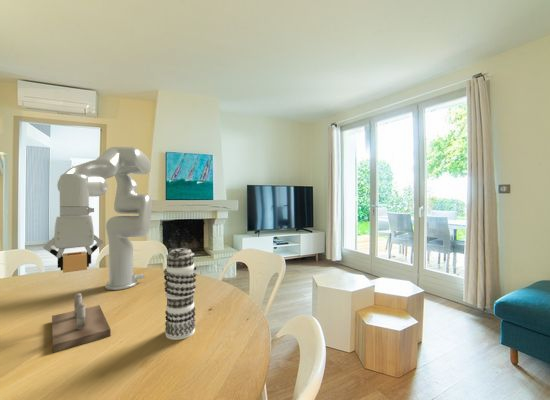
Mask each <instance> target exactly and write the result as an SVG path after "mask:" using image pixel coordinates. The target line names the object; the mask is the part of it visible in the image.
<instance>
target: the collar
mask: <svg viewBox="0 0 550 400" xmlns="http://www.w3.org/2000/svg"><path fill="white" fill-rule="evenodd" d="M86 252H87V250H86V251H84V250H82V251H75V252H73V251H72V252H63V254H62V255H63V270H62V273H63V274H65V273H72V272H79V271H80V272H81V271H87V270H88V267H87V253H86Z"/></svg>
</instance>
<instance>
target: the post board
mask: <svg viewBox="0 0 550 400" xmlns="http://www.w3.org/2000/svg"><path fill="white" fill-rule="evenodd" d="M73 299H74V301H73V302H74V304H73V306H74V308H73V309H74V310H73V311H68V312H63V313H58V314H54V315H51V334H52V353H56V352H60V351H63V350H67V349H70V348H74V347H77V346H79V345H80V346H81V345H84V344H88V343H91V342H95V341H97V340H101V339H104V338H108V337H111V336H112V335H111V334H112V333H111V327H110V325H109V323H108V321H107V319H106V316H105V314H104V311H103V310H102V307H101V305H94V306H90V307H86V304H85V302H83V294H82V293H79V292H78V293H76V294H75V295H74V297H73Z"/></svg>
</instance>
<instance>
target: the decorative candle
mask: <svg viewBox="0 0 550 400" xmlns="http://www.w3.org/2000/svg"><path fill="white" fill-rule="evenodd" d="M194 256H195V253H194V252H193V251H192V249H190V248H188V247H180V248H173V249H171V250H170V251H169V253H168V254H166V255H165V257H166V265H165V266H166V267H165V269H164V270H163V274H164V276H163V278H164V281H165V282H164V292H165V298H166V307H165V308H166V310H165V312H164V313H165V323H164V326H165V329H164V330H165V337H166V338H167V339H169V340H172V341H173V340H175V341H177V340H184V339H187V338H189V337H191V336H193V334H194V333H195V331H196V328H195V327H196V312H195V311H196V308H195V301H194V300H195V299H194V298H195V297H194V295H195V293H196V290H195V289H196V287H197V285H196V284H194V283H195V282H196V281H197V279H196V276H197V273H195V272H194V271H196V270H197V266H195V263H194V259H195V258H194Z"/></svg>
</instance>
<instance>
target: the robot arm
mask: <svg viewBox="0 0 550 400" xmlns="http://www.w3.org/2000/svg"><path fill="white" fill-rule="evenodd" d="M151 169H152V165H151V161H150V159H149V157H148V156H147V155H146V154H145V153H144V152H142V150H141V149H138V148H137V147H134V146H133V147H132V146H111V147H109V148H107V149H106V150H105V151H103V152H102V154H101V155H99V156H98V157H97V158H96V159H93V160H90V161H87V162H84V163H79V164H77V165H75V166H72V167H70V168H68V169H67V170H66V171H65V172H64V173H62V174H61V175H60V176H59V178H58V180H57V185H56V186H57V190H58V191H59V216H56V219H55V224H54V235H53V236H54V237H52V238H51V239H50V240H49V241H48V242H47V243H46V244H45V245H43V250H45V251H47V252H48V253H50V254H51V255H53V256H54V257H56V258H57V268H60V271H62V272H63V253H65V252H64V251H65V249H75V248H84V249H85V250H86V253H87V268H89V267H90V264H92V255H93V253H95V251H96V250H97V249H98V248H99V247H100V246H102V245H103V243H104V242H103V240H101V239H100V238H99V237H98V236H97V235H95V234H94V231H95V230H94V224H93V218H92V215H90V213H95V208H94V207H93V208H92V207H90V206H89V205H90V204H89V203H90V197H101V196H103V195H104V194H106V192H107V191H108V188H109V187H108V186H109V184H108V182H107V179H110V178H112V177H114V178H115V181H116V192H115V197H114V202H113V203H114V204H113V209H114V211H115V212H116V213H117V214H120V215H116V216H112V217H110V218H109V219H108V220H107V221H106V225H105V229H106V234H107V238H108V239H107V240H108V279H109V280H108V282H107V283H106V284H105V285H104V288H105V289H106V290H108V291H109V290H110V291H117V290H118V291H120V290H126V289H130V288H132V287H134V286H136V285H137V284H138V280H139V279H140V280H141V279H145V277H146V275H145V273H136V274H135V273H134V246H133V242H132V241H131V240H130V238H137V237H138V238H142V237H146V236H147V235H148V234H149V233H150V228H151V227H150V226H151V221H152V220H151V219H152V211H153V200H152V197H151V196H150V195H148V194H146V193H137V192H138V184H137V182H136V181H135V179H134V178H132V176H131V175H147V174H149V173H150V172H151ZM121 214H122V215H121ZM94 242H96V243H95V244H94ZM52 245H54V247H55V248H56V249H58V250H56V249H54V248H53V247H52ZM92 245H93V246H92ZM91 246H92V247H91Z"/></svg>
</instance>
